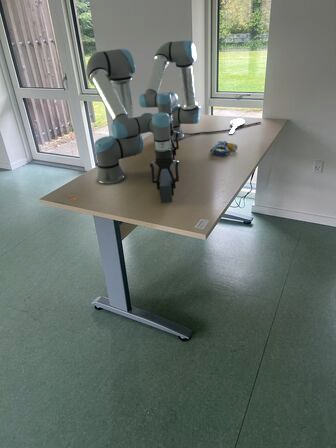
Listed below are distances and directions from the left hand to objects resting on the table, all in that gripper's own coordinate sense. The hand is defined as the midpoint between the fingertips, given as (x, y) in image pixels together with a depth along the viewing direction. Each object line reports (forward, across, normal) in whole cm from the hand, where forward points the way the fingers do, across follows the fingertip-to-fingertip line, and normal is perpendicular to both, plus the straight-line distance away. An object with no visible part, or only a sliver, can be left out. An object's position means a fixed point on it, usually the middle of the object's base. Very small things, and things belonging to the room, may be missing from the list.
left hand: (166, 194), depth 163 cm
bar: (+1, 0, +23) cm, 23 cm away
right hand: (+1, 0, +46) cm, 46 cm away
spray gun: (+3, +36, +62) cm, 72 cm away
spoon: (+4, +50, +115) cm, 125 cm away
